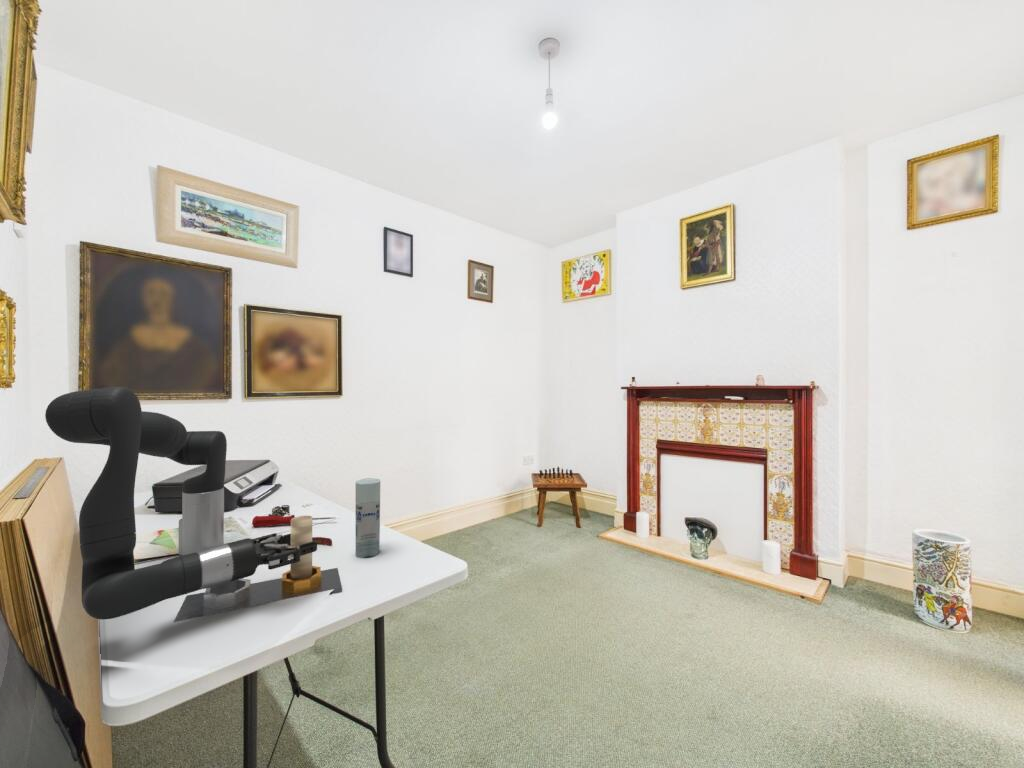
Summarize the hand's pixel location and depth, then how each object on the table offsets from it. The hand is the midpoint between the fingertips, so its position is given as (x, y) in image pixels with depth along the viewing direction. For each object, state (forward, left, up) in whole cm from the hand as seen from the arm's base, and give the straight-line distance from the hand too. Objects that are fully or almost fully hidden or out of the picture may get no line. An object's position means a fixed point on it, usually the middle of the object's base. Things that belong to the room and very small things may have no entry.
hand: (308, 540), depth 96 cm
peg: (-1, -1, -10) cm, 10 cm away
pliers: (-17, +21, -11) cm, 29 cm away
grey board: (-7, -5, -11) cm, 13 cm away
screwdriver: (-29, +38, -11) cm, 49 cm away
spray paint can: (+5, +19, -11) cm, 23 cm away
